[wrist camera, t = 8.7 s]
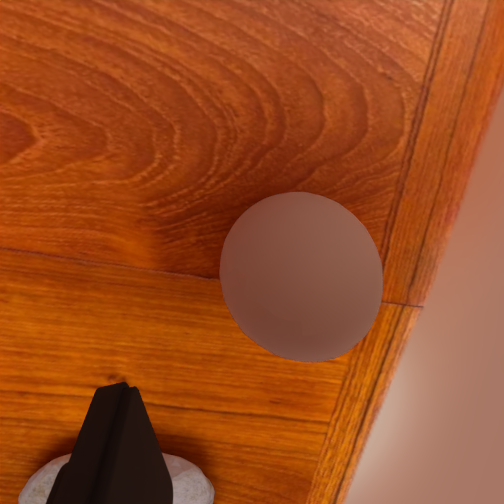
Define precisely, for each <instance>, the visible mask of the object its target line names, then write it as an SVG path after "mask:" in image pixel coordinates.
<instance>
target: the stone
mask: <svg viewBox="0 0 504 504" xmlns="http://www.w3.org/2000/svg"><path fill="white" fill-rule="evenodd" d="M71 454H72V453H71ZM71 454H67V455H64V456H61V457H58V458H56V459H54V460H52V461H50V462H49V463H47V464H46V465H44V466H43V467H42V468H40V469H39V470H38V471H37V472H36V473H34V474H33V475H32V477H31V478H29V480H28V482H27V483H26V485H25V487H24V488H23V490H22V491H21V493H20V495H19V504H46V501H47V499H48V496H49V494H50V491H51V489H52V486H53V484H54V481H55V479H56V476H57V474H58V472H59V470H60V468H61V467H62V466H63V465H64V464H65V463H68V462H69V459H70V457H71ZM162 455H163V457H164V460H165V463H166V465H167V468H168V471H169V474H170V476H171V479H172V484H173V504H213V500H214V488H213V486H212V483H211V482H210V480H209V479H208V478H206V477H205V476H204V474H203V472H202V471H201V469H200V468H199V467H197V466H196V465H195V464H193V463H191V462H189V461H187V460H185V459H183V458H181V457H179V456H174V455H170V454H165V453H162Z"/></svg>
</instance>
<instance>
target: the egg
mask: <svg viewBox="0 0 504 504" xmlns="http://www.w3.org/2000/svg"><path fill="white" fill-rule="evenodd" d="M219 276H220V281H221V286H222V291H223V297H224V301H225V303H226V305H227V307H228V309H229V311H230V313H231V315H232V317H233V319H234V320H235V321H236V323H237V324H238V326H239V327H240V328H241V330H242V331H243V333H244V334H245V335H247V336H248V337H249V338H250V339H252V340H253V341H254V342H255V343H257V344H258V345H260V346H261V347H263V348H265V349H266V350H268V351H270V352H271V353H273V354H275V355H277V356H280V357H282V358H285V359H290V360H295V361H300V362H322V361H326V360H330V359H334V358H336V357H339V356H341V355H343V354H345V353H347V352H348V351H349V350H351V349H352V348H353V347H354V346H355V345H356V344H357V343H358V342H359V341H360V340H361V339H362V338H364V337H365V336H366V334H367V333H368V332H369V330H370V328H371V326H372V324H373V322H374V321H375V318H376V316H377V313H378V311H379V308H380V304H381V299H382V292H383V275H382V263H381V260H380V257H379V254H378V251H377V248H376V245H375V244H374V242H373V240H372V238H371V236H370V234H369V233H368V231H367V229H366V227H365V226H364V225H363V224H362V223H361V222H360V221H359V220H358V219H357V218H356V217H355V215H354V214H352V213H351V212H350V211H348V210H347V209H346V208H344V207H343V206H342V205H340V204H339V203H338V202H335V201H333V200H331V199H329V198H326V197H324V196H320V195H316V194H312V193H308V192H288V193H283V194H277V195H273V196H270V197H267V198H265V199H263V200H261V201H259V202H258V203H256V204H254V205H253V206H251V207H250V208H248V209H247V210H246V211H245V212H244V213H243V214H242V215H241V216H240V217H239V218H238V219H237V221H236V222H235V223H234V225H233V226H232V228H231V230H230V232H229V233H228V235H227V237H226V239H225V241H224V245H223V249H222V253H221V261H220V271H219Z"/></svg>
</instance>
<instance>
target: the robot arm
mask: <svg viewBox="0 0 504 504" xmlns="http://www.w3.org/2000/svg"><path fill="white" fill-rule="evenodd" d="M46 504H173V484H172V479H171V476H170V474H169V471H168V468H167V465H166V463H165V460H164V457H163V455H162V452H161V449H160V447H159V444H158V441H157V438H156V436H155V433H154V430H153V428H152V425H151V422H150V420H149V417H148V414H147V411H146V409H145V406H144V403H143V401H142V398H141V395H140V393H139V390H138V388H137V387H135V386H134V387H130V388H129V386H128V384H127V383H126V382H121V383H117V384H113V385H108V386H104V387H100V388H98V389H97V390H96V392H95V394H94V397H93V399H92V402H91V404H90V407H89V410H88V412H87V415H86V417H85V420H84V423H83V425H82V428H81V430H80V433H79V436H78V438H77V441H76V443H75V446H74V449H73V451H72V454H71V457H70V459H69V462H68V463H65V464H64V465H63V466H62V467H61V468H60V470H59V472H58V474H57V476H56V479H55V481H54V484H53V486H52V489H51V491H50V494H49V496H48V499H47V501H46Z"/></svg>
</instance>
